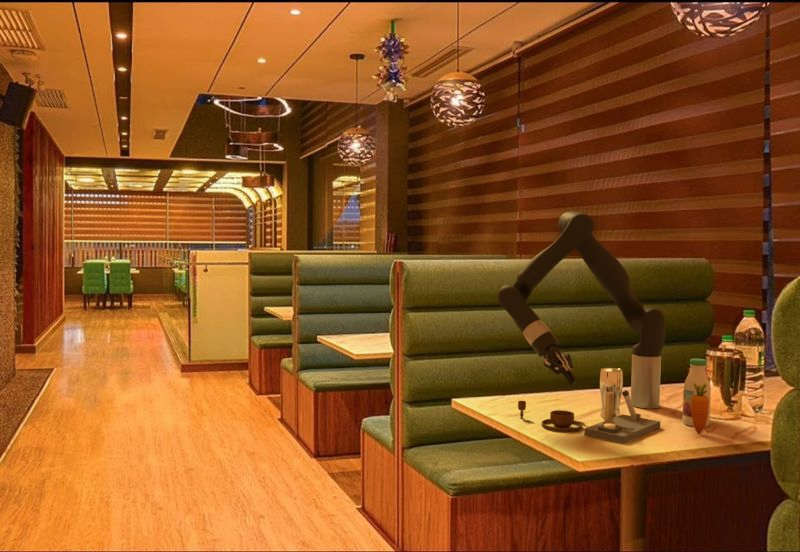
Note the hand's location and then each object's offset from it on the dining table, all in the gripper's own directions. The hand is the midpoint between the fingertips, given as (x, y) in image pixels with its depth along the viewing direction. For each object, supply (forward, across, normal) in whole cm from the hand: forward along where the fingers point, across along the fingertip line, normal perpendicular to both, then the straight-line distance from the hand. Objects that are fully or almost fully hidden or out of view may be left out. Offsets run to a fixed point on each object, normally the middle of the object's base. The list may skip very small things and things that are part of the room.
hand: (574, 382), depth 222 cm
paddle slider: (+15, 0, -1) cm, 15 cm away
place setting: (+6, -3, +13) cm, 15 cm away
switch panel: (+19, +3, -1) cm, 19 cm away
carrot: (+31, +16, -13) cm, 38 cm away
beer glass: (+11, +17, +7) cm, 22 cm away
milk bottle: (+28, +27, -10) cm, 40 cm away
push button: (+18, -5, -3) cm, 19 cm away
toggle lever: (+18, +11, -3) cm, 21 cm away
